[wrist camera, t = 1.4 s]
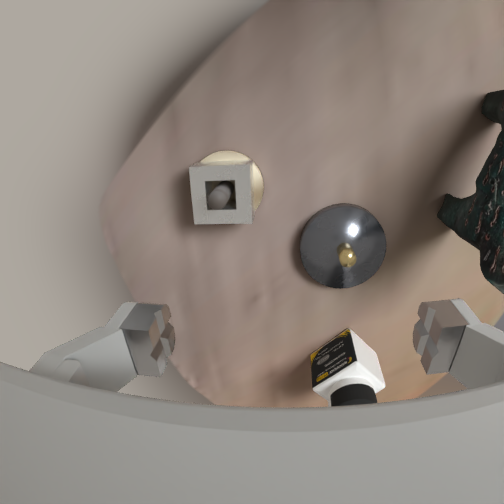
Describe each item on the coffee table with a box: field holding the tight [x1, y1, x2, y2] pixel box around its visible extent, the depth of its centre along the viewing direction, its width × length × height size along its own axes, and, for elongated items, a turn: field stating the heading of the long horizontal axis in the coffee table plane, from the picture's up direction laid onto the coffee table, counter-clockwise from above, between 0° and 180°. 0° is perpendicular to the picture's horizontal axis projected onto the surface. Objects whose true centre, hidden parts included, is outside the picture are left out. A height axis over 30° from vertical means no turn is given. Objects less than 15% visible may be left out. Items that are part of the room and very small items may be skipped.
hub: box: [300, 203, 386, 288], centre depth 35 cm, size 10×10×4 cm
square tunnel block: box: [189, 160, 255, 224], centre depth 33 cm, size 6×6×3 cm
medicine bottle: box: [311, 328, 385, 407], centre depth 38 cm, size 7×7×12 cm
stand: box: [190, 151, 264, 210], centre depth 33 cm, size 8×8×6 cm
